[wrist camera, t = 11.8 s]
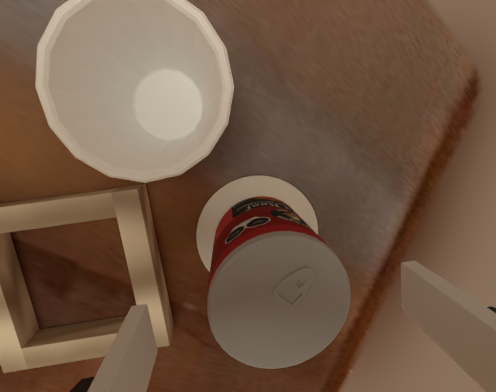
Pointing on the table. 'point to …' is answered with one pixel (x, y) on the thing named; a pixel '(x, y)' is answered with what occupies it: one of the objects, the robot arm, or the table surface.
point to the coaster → (240, 192)
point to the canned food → (273, 286)
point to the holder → (87, 333)
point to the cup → (134, 85)
